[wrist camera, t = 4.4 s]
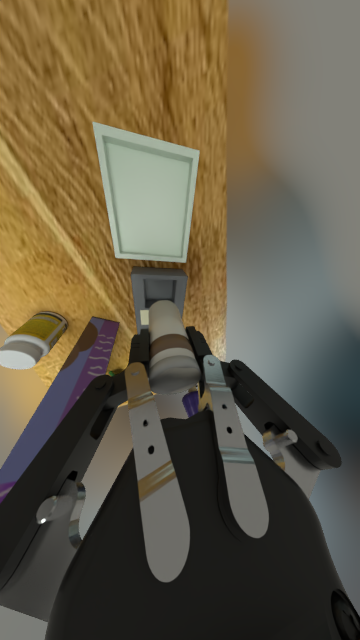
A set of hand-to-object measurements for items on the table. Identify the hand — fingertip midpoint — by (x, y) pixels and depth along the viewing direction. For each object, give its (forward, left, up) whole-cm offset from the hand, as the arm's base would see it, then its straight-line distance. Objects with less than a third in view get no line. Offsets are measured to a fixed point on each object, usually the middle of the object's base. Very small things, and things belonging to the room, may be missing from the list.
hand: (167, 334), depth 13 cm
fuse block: (+3, 0, -13) cm, 14 cm away
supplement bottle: (+8, -19, -13) cm, 24 cm away
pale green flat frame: (-10, -1, -13) cm, 17 cm away
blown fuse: (0, 0, -4) cm, 4 cm away
